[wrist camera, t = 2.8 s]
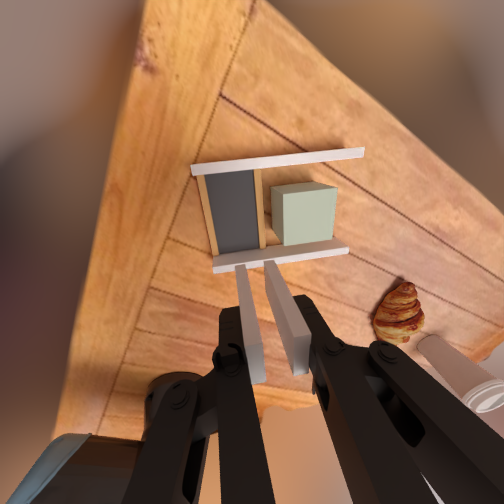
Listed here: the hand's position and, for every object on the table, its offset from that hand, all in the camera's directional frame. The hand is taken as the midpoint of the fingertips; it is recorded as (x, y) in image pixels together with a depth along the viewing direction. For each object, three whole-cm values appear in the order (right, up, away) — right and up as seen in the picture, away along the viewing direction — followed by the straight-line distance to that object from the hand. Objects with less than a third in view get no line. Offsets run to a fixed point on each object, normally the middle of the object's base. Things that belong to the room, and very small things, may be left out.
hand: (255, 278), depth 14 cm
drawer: (-3, +8, +16) cm, 18 cm away
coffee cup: (+50, -24, +41) cm, 68 cm away
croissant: (+33, -13, +33) cm, 48 cm away
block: (+6, +9, +17) cm, 21 cm away
